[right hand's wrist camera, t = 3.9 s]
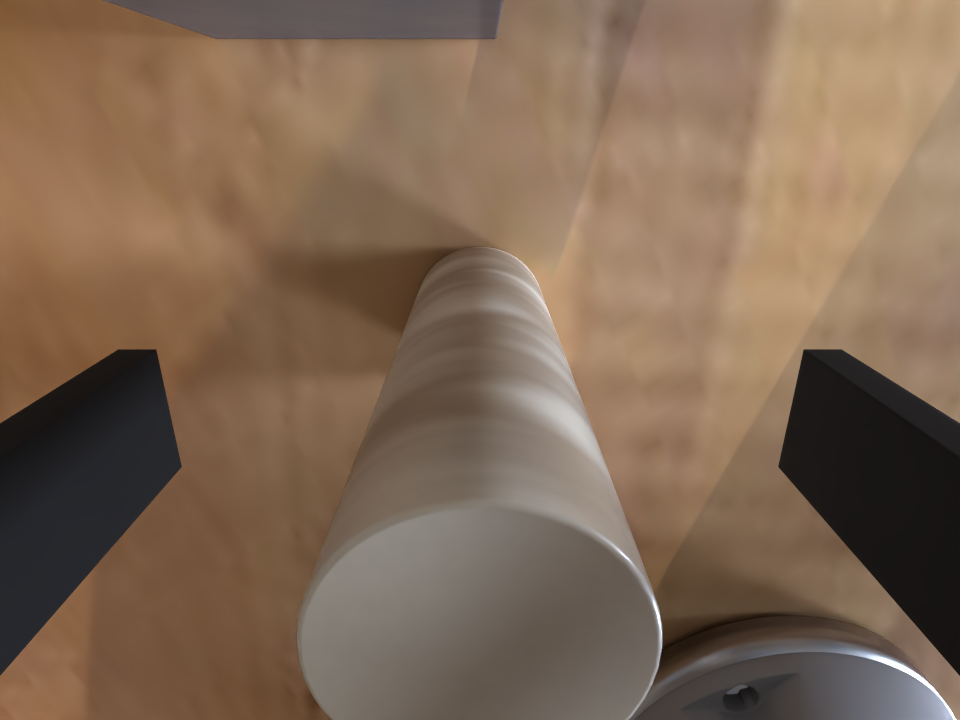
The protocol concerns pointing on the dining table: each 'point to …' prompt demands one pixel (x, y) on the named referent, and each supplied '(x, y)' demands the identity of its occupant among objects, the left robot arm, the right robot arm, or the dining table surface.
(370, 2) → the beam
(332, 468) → the dining table surface
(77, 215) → the dining table surface
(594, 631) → the dowel
